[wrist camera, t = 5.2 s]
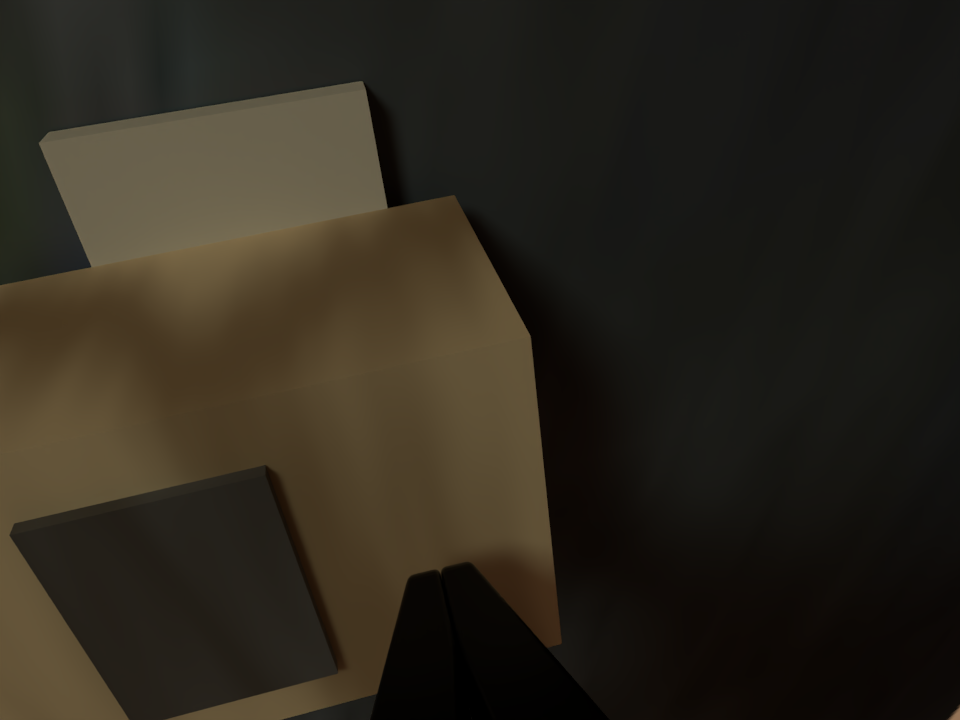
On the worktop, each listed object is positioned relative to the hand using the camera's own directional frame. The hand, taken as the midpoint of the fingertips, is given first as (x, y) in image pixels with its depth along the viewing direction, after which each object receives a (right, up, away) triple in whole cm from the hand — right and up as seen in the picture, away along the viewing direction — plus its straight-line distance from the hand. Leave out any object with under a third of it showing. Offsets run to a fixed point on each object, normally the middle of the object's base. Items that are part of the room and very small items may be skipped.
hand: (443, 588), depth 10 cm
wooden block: (+1, +2, +3) cm, 4 cm away
